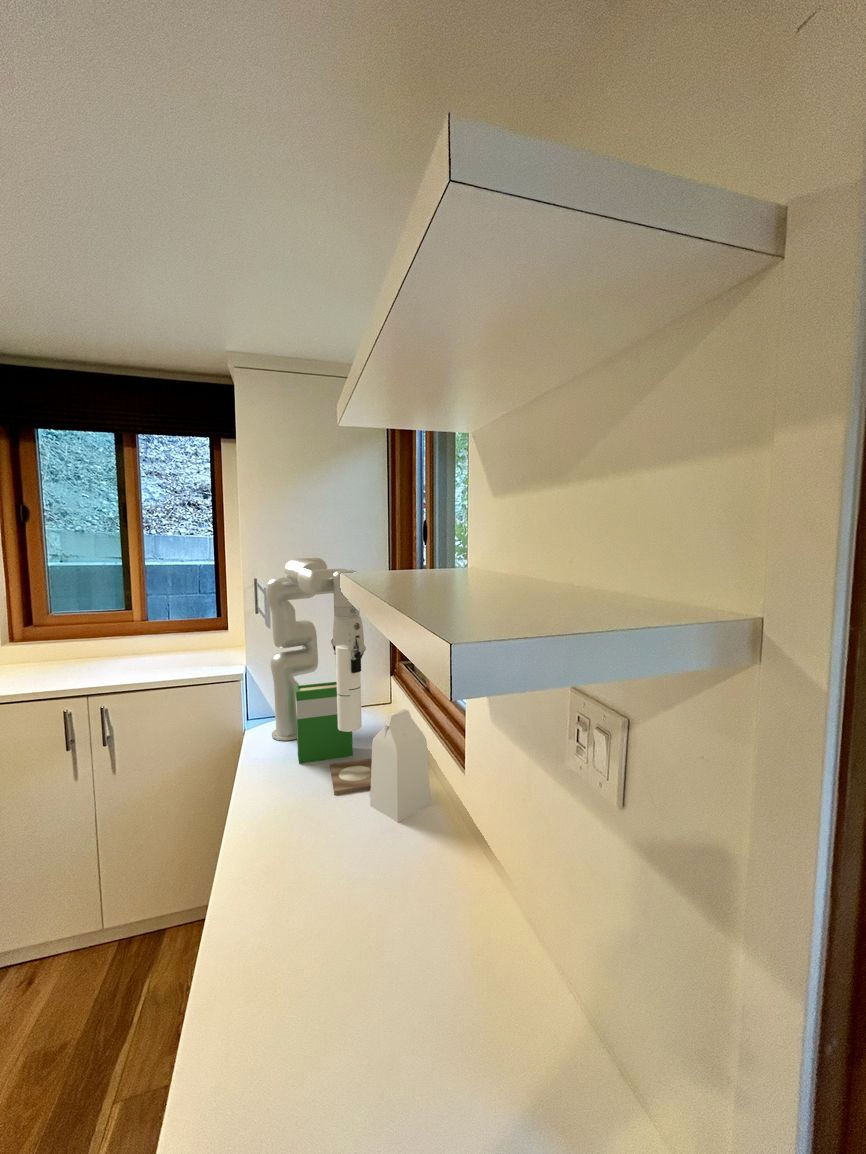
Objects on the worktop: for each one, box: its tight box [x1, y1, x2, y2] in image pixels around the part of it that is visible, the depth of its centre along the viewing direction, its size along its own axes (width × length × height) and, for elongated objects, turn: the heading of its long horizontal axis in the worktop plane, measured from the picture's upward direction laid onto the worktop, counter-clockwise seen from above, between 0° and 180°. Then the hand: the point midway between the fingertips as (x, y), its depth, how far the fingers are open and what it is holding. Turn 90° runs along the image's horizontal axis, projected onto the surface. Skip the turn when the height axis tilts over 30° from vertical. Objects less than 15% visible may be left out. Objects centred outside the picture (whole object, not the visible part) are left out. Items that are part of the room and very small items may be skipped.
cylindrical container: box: [335, 646, 363, 732], centre depth 149 cm, size 7×7×25 cm
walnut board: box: [329, 758, 372, 796], centre depth 152 cm, size 18×14×1 cm
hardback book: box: [295, 681, 354, 765], centre depth 167 cm, size 18×7×24 cm, turn 108°
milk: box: [369, 708, 432, 823], centre depth 134 cm, size 12×12×26 cm
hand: (348, 669), depth 149 cm, fingers closed on cylindrical container, 7 cm apart
